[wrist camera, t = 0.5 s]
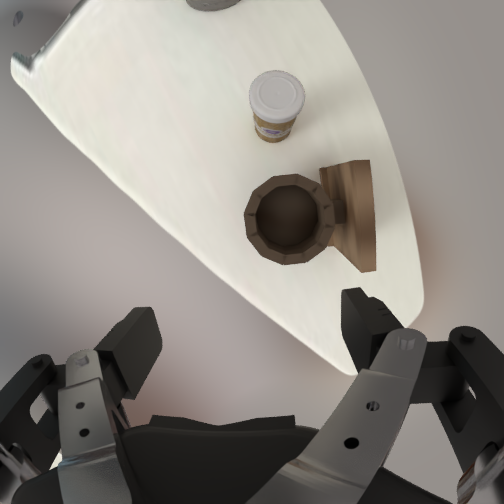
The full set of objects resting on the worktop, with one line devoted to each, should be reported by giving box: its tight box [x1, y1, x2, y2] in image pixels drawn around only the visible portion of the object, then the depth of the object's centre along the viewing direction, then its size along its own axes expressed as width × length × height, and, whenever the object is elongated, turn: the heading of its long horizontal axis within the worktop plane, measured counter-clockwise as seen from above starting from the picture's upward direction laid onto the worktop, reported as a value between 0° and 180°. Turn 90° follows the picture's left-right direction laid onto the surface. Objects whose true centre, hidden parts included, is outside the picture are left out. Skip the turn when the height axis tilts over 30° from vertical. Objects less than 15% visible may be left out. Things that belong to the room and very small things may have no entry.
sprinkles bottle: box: [249, 70, 305, 143], centre depth 26 cm, size 5×5×13 cm
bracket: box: [244, 160, 376, 273], centre depth 29 cm, size 10×12×12 cm
